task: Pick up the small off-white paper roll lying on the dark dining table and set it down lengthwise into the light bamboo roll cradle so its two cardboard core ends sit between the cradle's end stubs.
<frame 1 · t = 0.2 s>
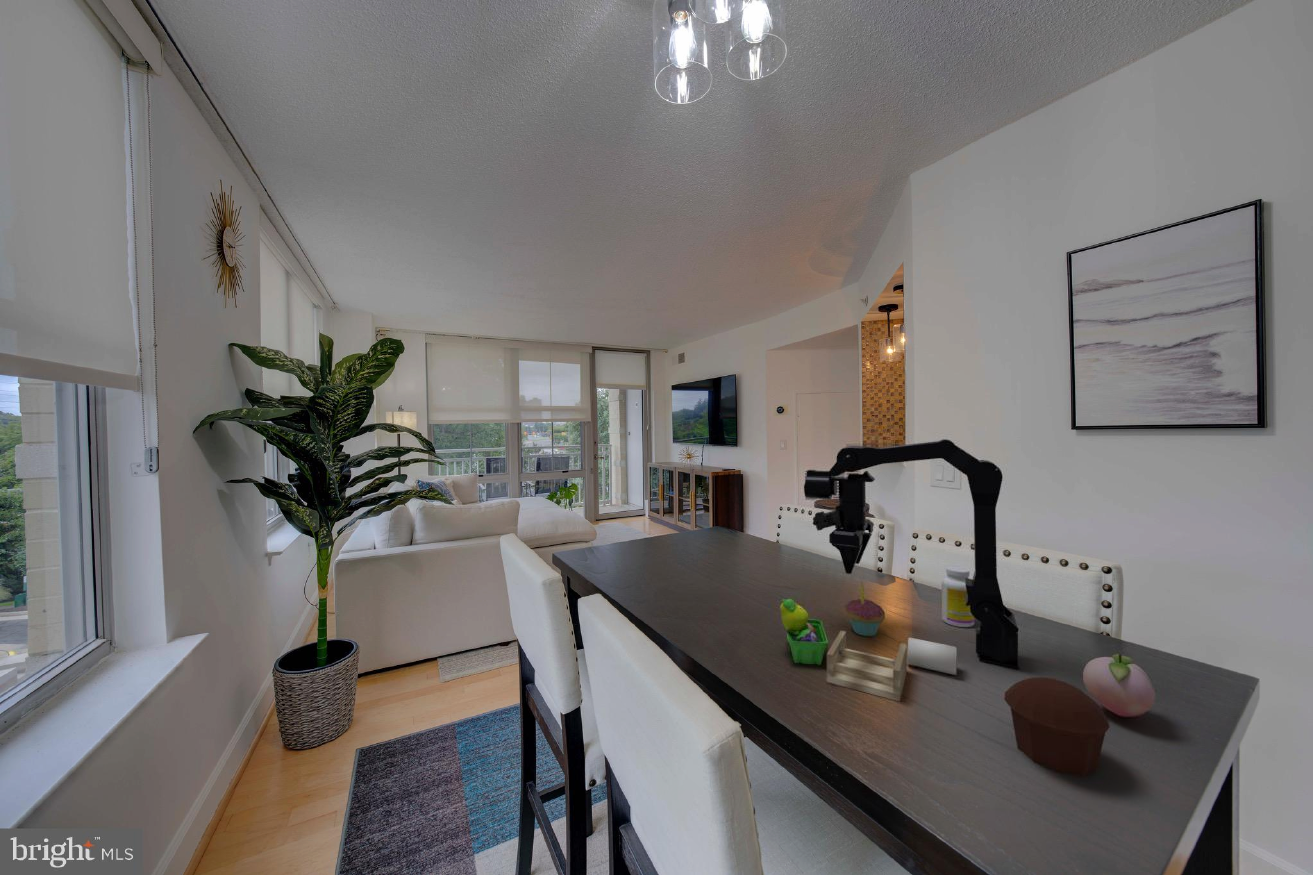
hand: (852, 568, 110), 14 cm above the table, fingers open, 9 cm apart
muffin: (1053, 755, 68), on the table
fruit basket: (802, 654, 100), on the table
decorative fruit: (1116, 716, 77), on the table
cupcake: (864, 632, 110), on the table
supplement bottle: (957, 623, 114), on the table
paper roll: (931, 668, 93), on the table
roll cradle: (867, 676, 90), on the table
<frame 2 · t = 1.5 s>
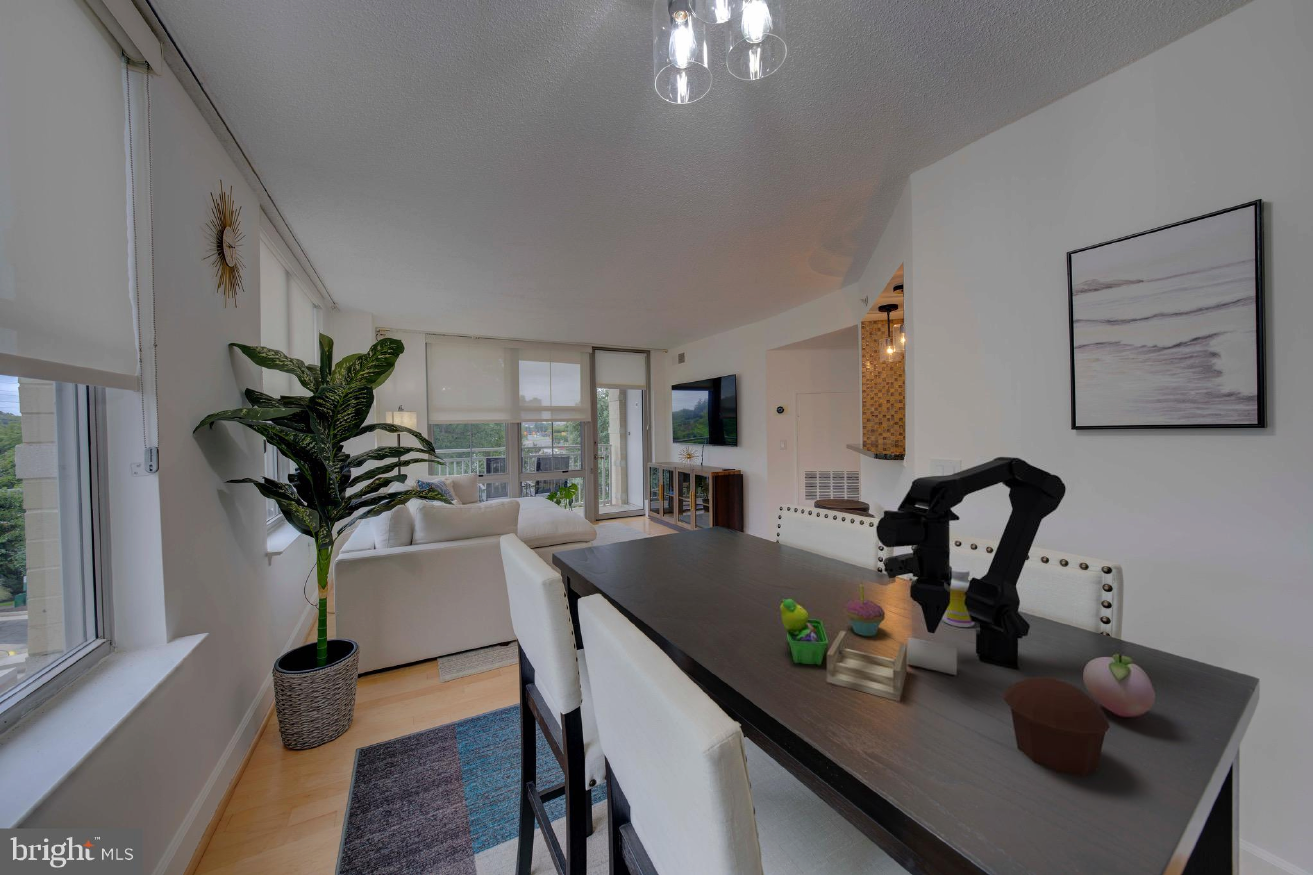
hand: (932, 623, 93), 9 cm above the table, fingers open, 9 cm apart
nothing on the table moved.
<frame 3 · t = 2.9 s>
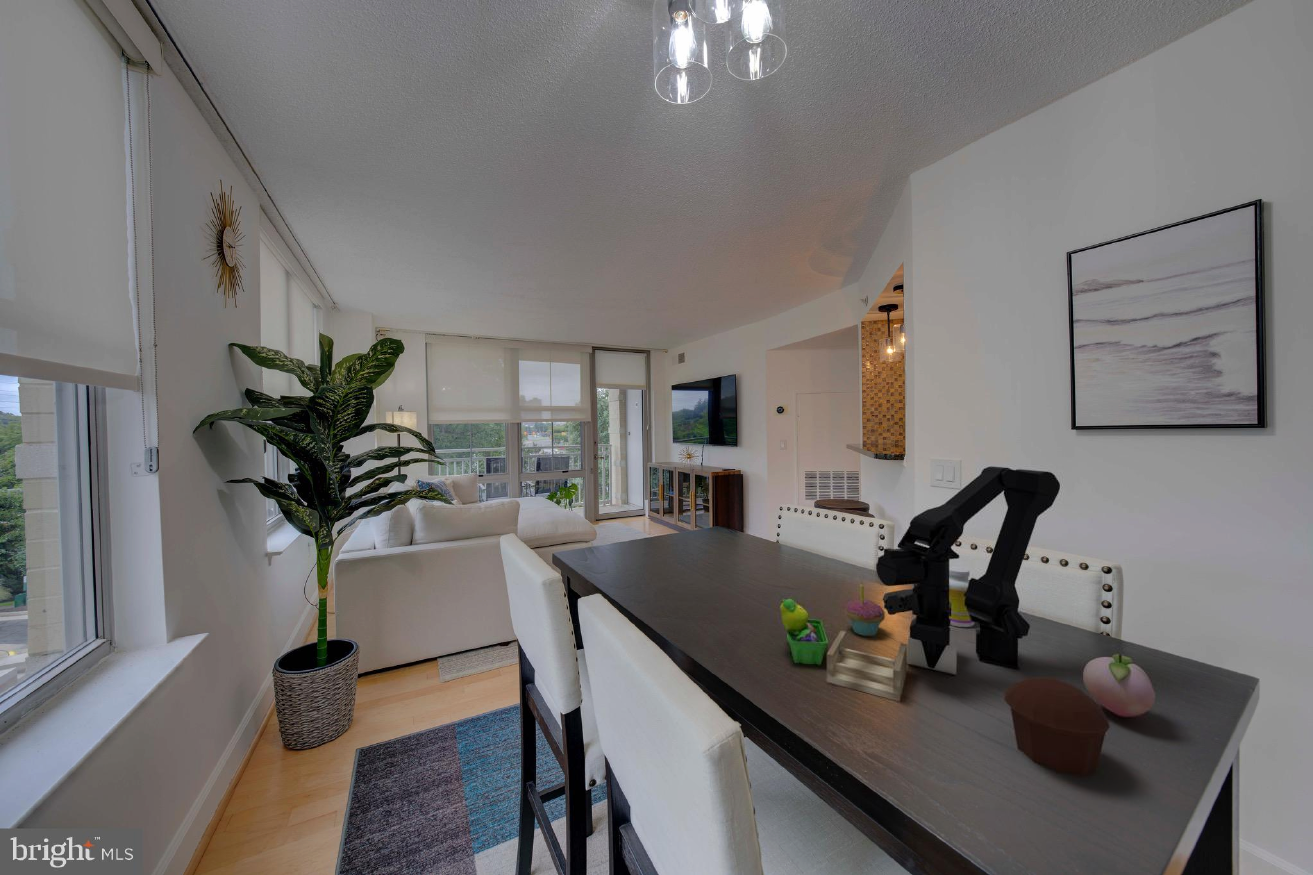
hand: (931, 661, 93), 1 cm above the table, fingers closed on paper roll, 5 cm apart
paper roll: (931, 667, 93), on the table, touching gripper
everything else where it was.
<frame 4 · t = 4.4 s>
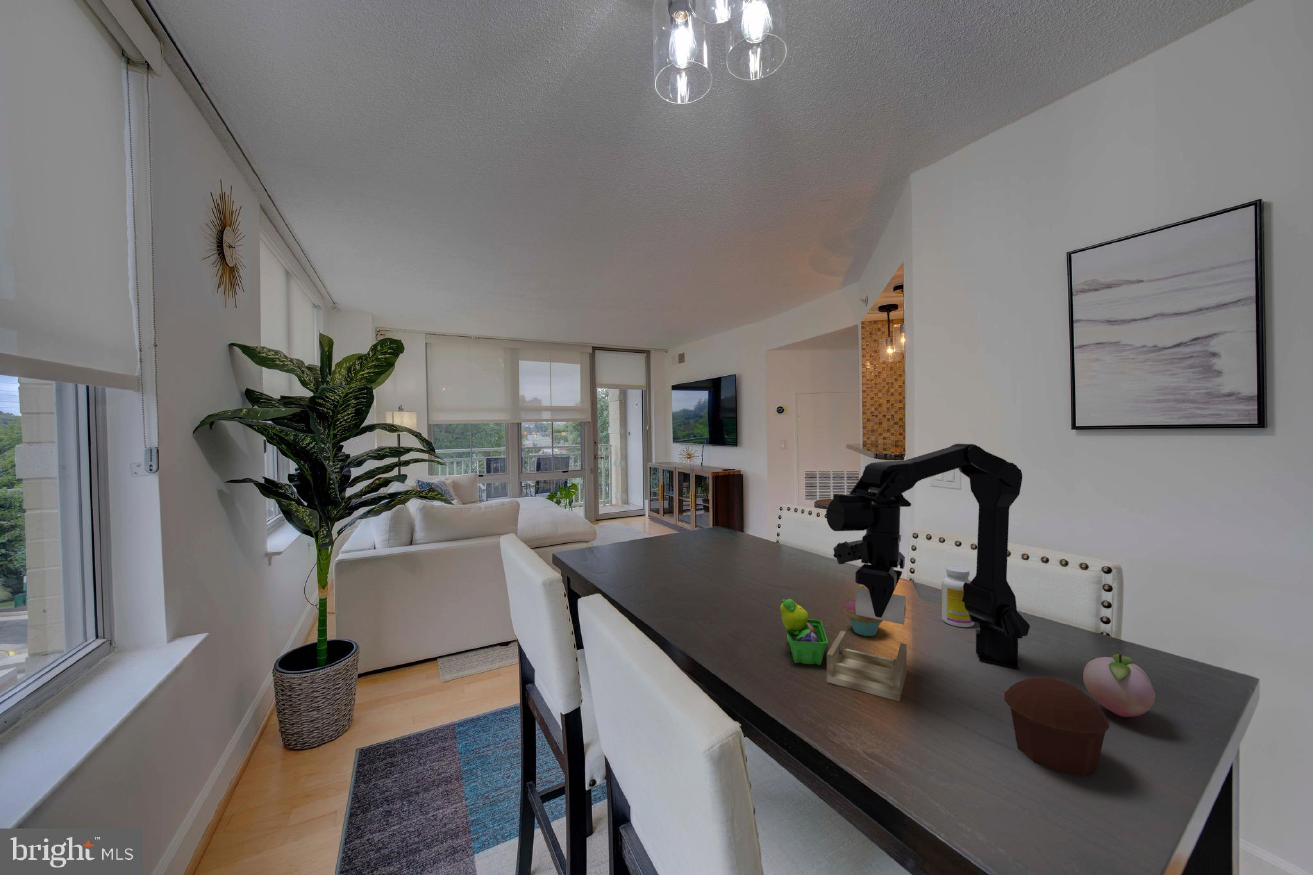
hand: (880, 612, 90), 12 cm above the table, fingers closed on paper roll, 5 cm apart
paper roll: (880, 618, 90), point 11 cm above the table, touching gripper
everything else where it was.
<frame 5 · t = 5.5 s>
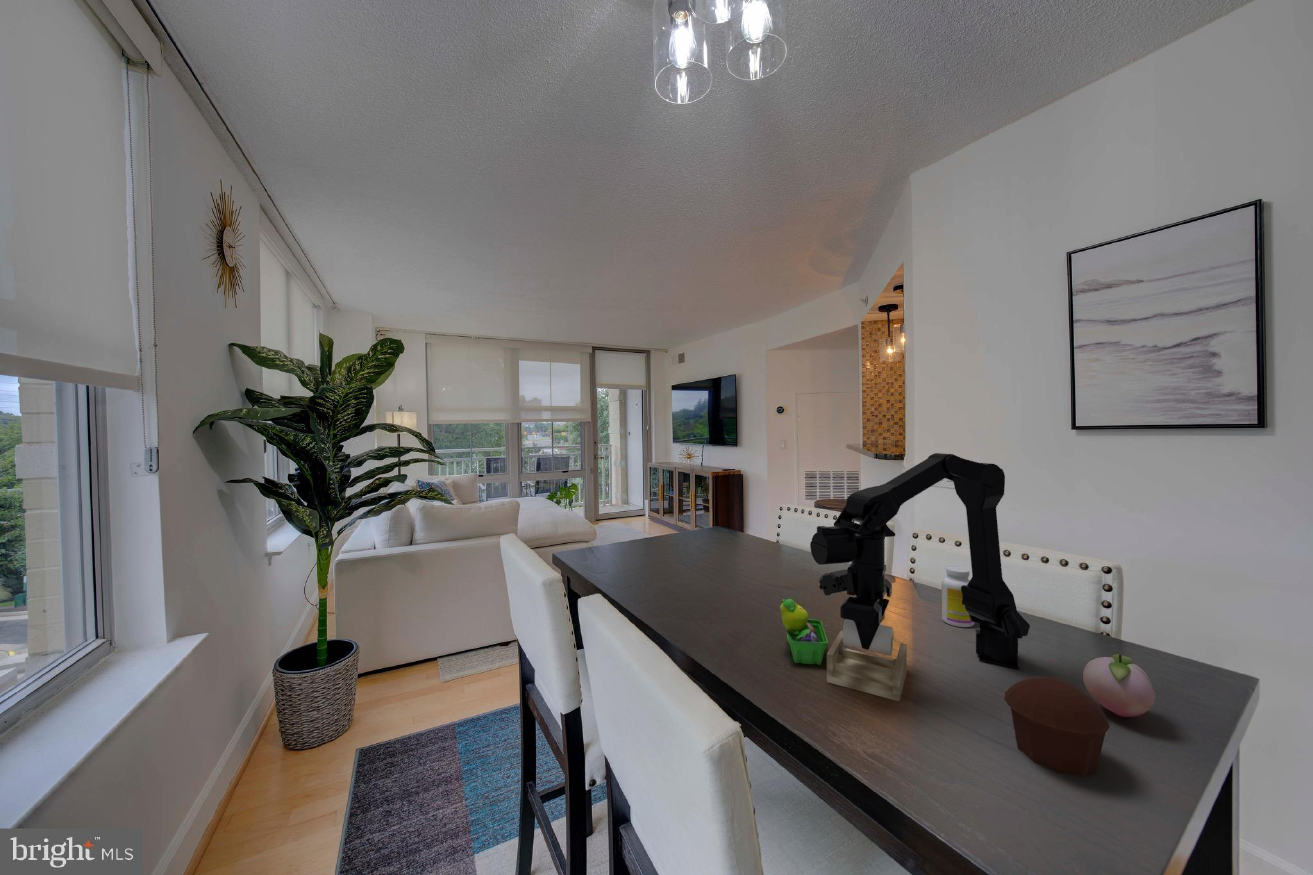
hand: (867, 643, 90), 6 cm above the table, fingers closed on paper roll, 5 cm apart
paper roll: (867, 649, 90), point 5 cm above the table, touching gripper
everything else where it was.
when the fingers open (4 cm above the table, at t = 6.4 s): paper roll drops 1 cm, resting on roll cradle.
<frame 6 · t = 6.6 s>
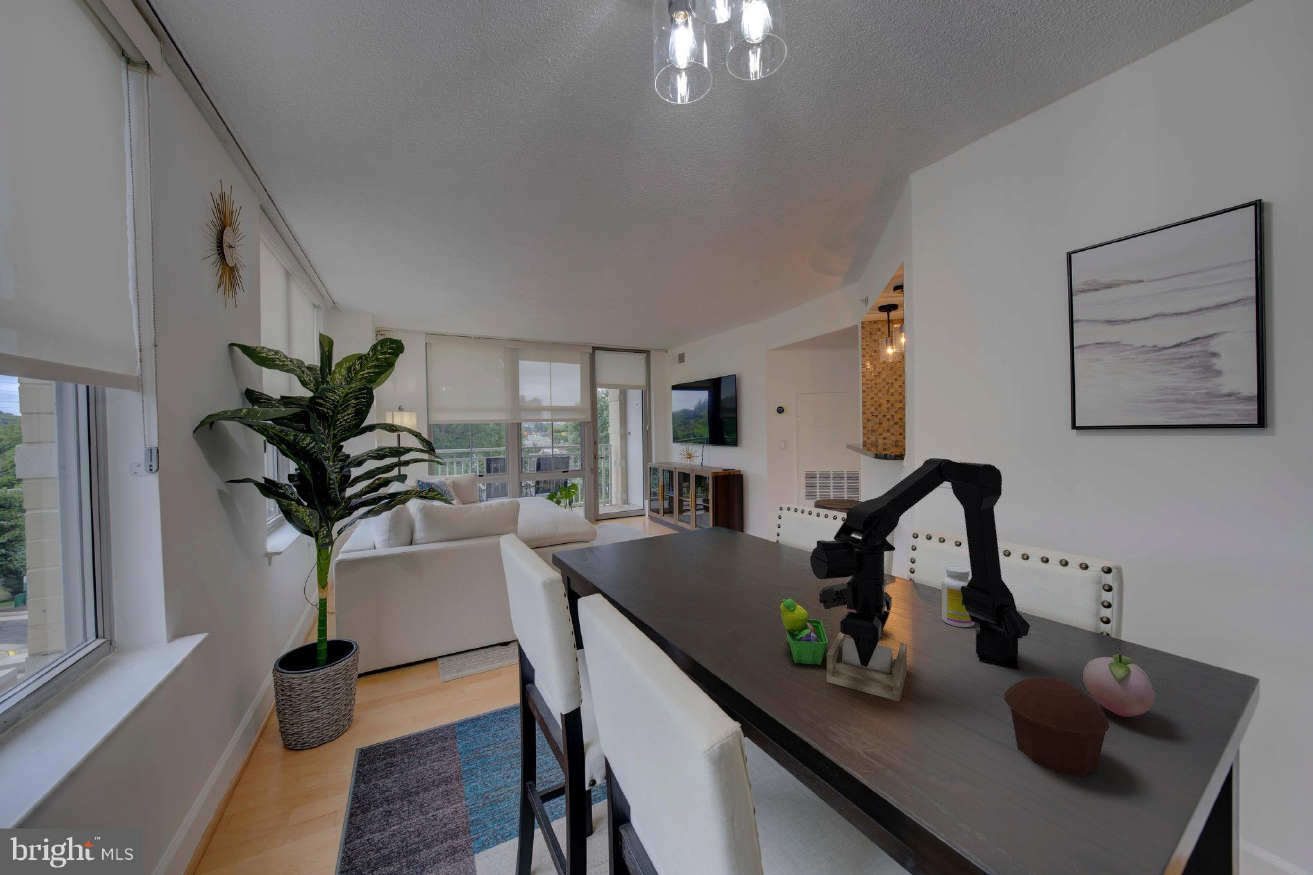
hand: (867, 657, 90), 4 cm above the table, fingers open, 7 cm apart
paper roll: (867, 670, 90), point 1 cm above the table, touching roll cradle
everything else where it was.
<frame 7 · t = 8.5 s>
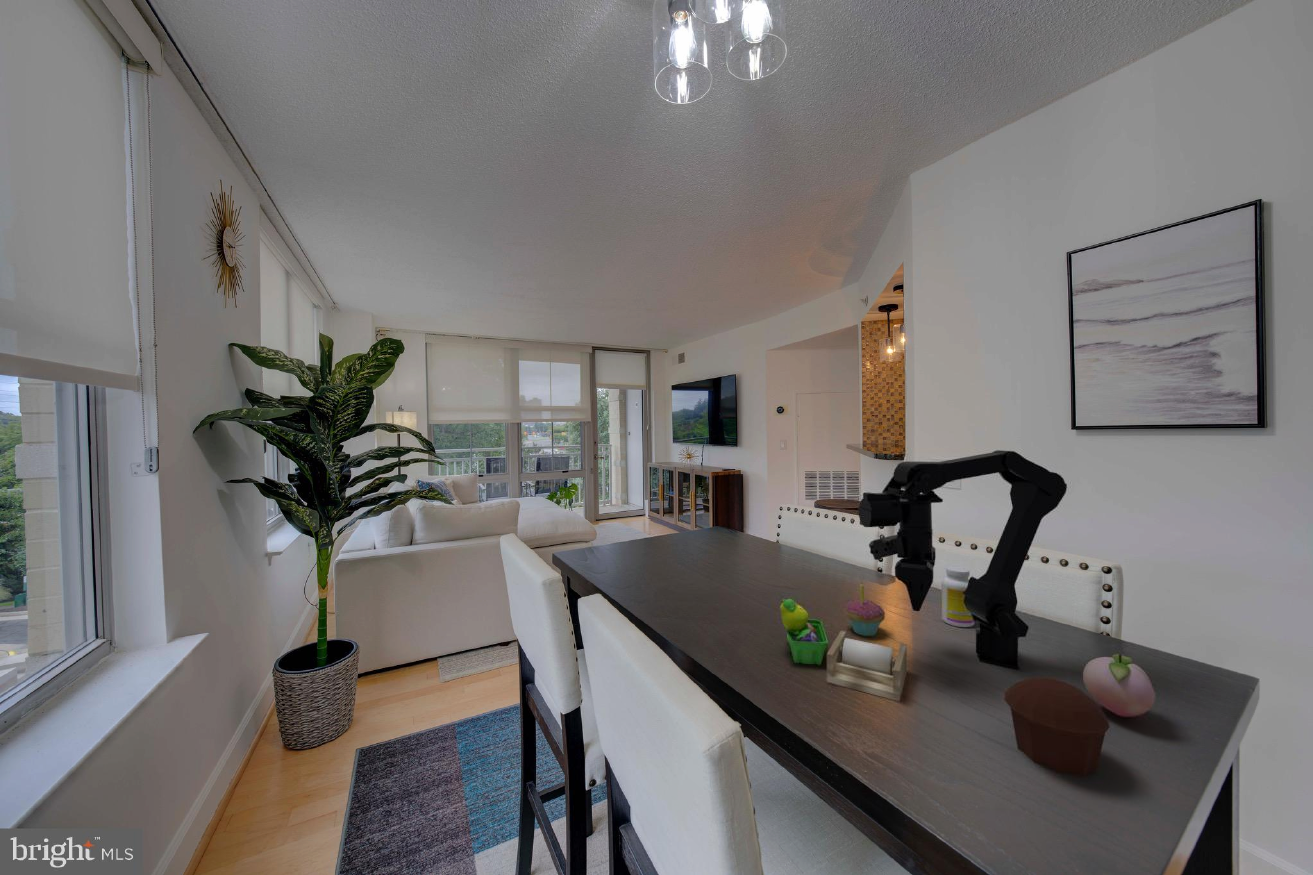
hand: (917, 602, 96), 12 cm above the table, fingers open, 9 cm apart
nothing on the table moved.
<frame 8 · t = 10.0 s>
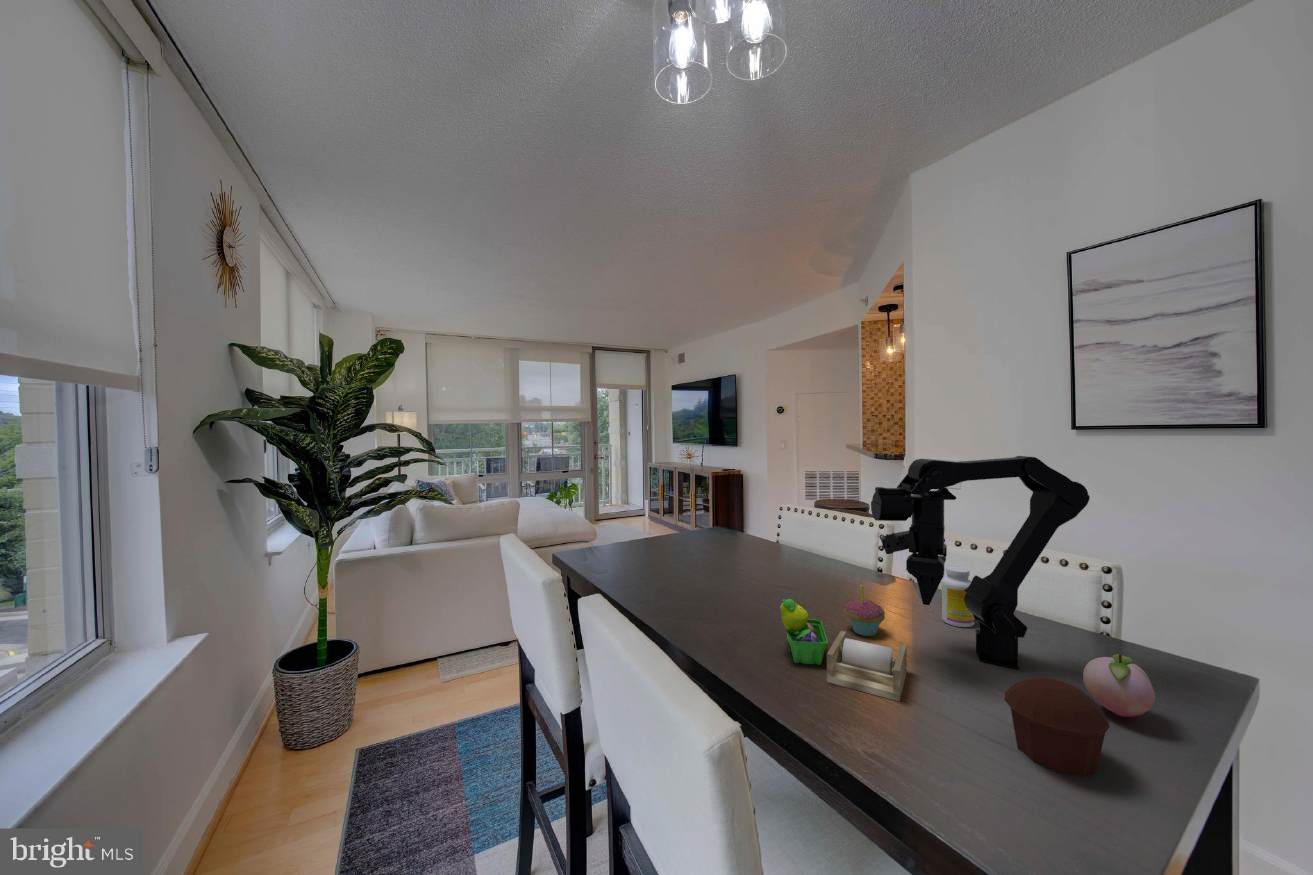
hand: (927, 597, 98), 12 cm above the table, fingers open, 9 cm apart
nothing on the table moved.
at the end: paper roll 0.0 cm off-centre on the roll cradle, point 1.2 cm above the roll cradle's base; the gripper is holding nothing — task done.
